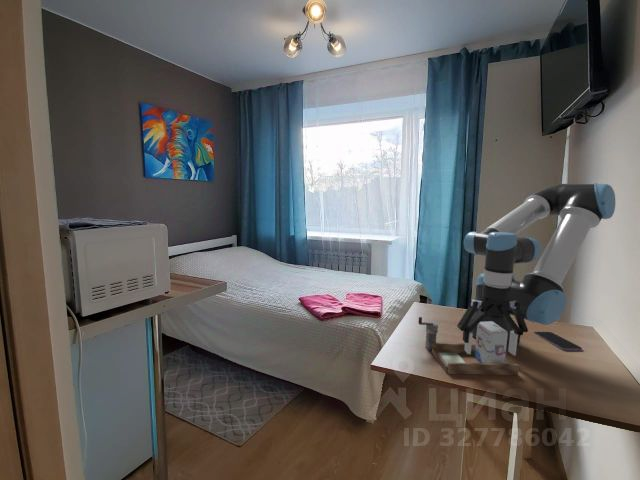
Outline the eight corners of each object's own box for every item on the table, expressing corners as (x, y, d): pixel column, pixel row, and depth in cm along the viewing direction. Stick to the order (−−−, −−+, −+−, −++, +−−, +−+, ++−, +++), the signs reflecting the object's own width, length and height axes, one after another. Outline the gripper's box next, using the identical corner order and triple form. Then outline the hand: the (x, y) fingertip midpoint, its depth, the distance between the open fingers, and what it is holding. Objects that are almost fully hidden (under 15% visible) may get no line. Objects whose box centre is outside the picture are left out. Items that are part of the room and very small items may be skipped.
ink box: (473, 356, 108) (476, 320, 106) (488, 356, 108) (492, 320, 106) (488, 370, 99) (492, 331, 97) (505, 370, 100) (509, 331, 98)
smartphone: (550, 331, 129) (584, 348, 114) (550, 334, 129) (583, 351, 114) (532, 331, 128) (563, 348, 113) (532, 334, 128) (563, 351, 113)
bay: (487, 347, 114) (490, 317, 112) (518, 375, 97) (522, 339, 95) (415, 346, 114) (417, 315, 112) (432, 373, 97) (435, 337, 95)
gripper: (530, 282, 104) (522, 348, 107) (449, 280, 104) (444, 346, 107) (547, 289, 97) (538, 359, 100) (460, 287, 96) (453, 357, 99)
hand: (489, 352), depth 103 cm, fingers open, 13 cm apart
